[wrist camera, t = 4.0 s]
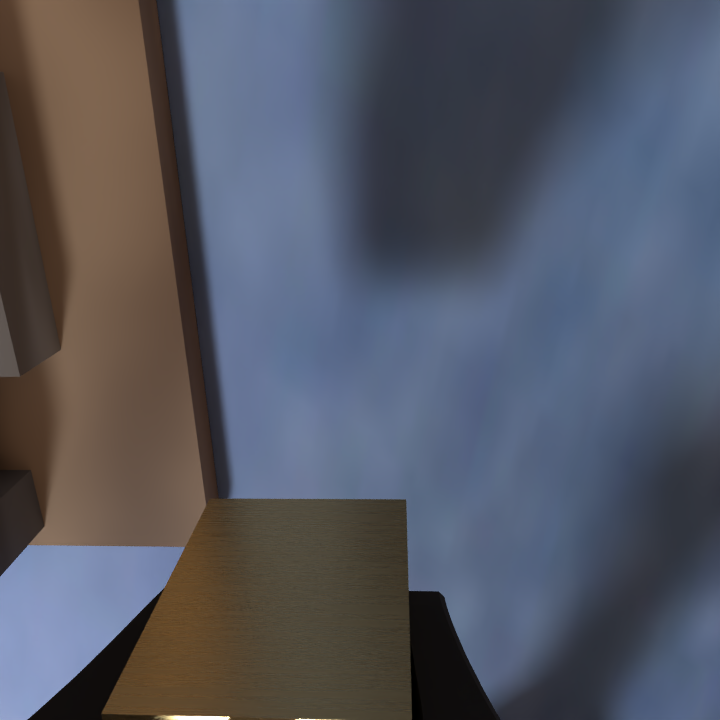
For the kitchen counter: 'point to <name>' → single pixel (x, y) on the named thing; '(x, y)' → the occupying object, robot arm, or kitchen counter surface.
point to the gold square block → (279, 617)
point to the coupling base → (94, 287)
